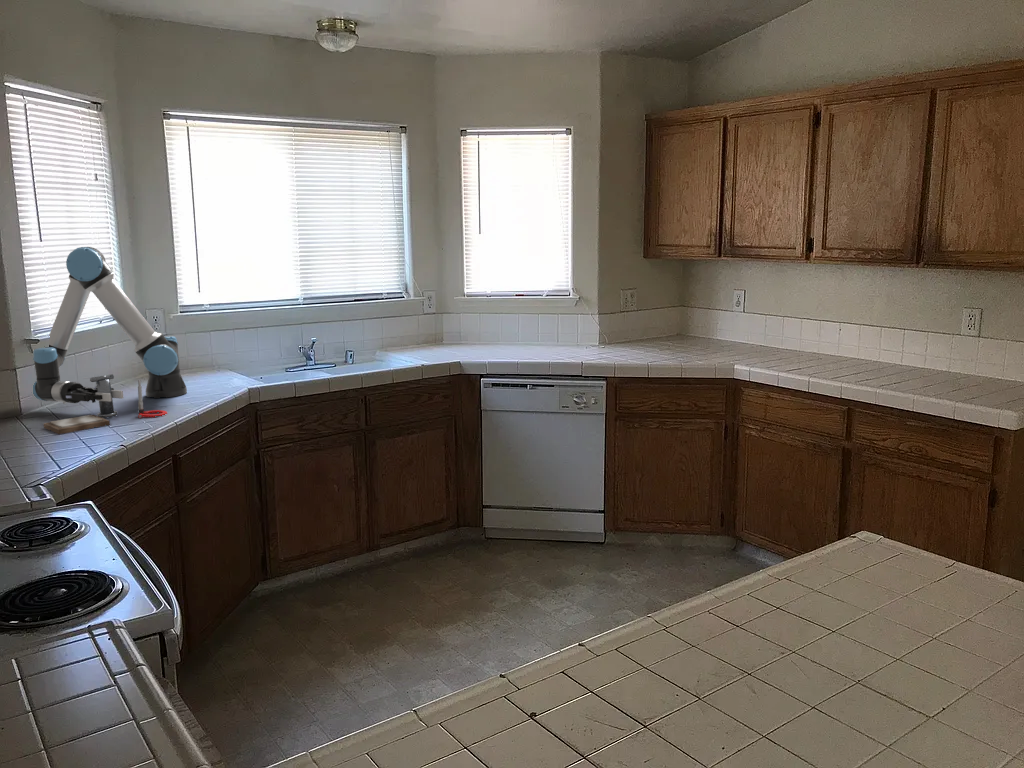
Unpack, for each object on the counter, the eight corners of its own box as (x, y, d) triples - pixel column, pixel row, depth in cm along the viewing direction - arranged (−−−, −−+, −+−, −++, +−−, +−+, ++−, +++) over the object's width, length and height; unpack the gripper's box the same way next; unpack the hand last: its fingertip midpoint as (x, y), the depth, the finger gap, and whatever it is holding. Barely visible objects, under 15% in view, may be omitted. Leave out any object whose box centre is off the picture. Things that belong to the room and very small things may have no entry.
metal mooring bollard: (113, 412, 298) (108, 373, 295) (121, 415, 294) (116, 375, 291) (91, 417, 292) (85, 376, 289) (99, 419, 288) (93, 378, 285)
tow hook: (168, 412, 298) (140, 414, 295) (166, 377, 296) (138, 378, 293) (166, 417, 290) (137, 419, 288) (164, 381, 288) (135, 382, 285)
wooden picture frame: (93, 418, 289) (93, 413, 288) (109, 424, 279) (109, 419, 279) (44, 427, 277) (43, 421, 277) (59, 434, 268) (58, 428, 268)
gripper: (90, 397, 307) (137, 401, 298) (48, 407, 292) (96, 411, 282) (88, 377, 306) (135, 381, 297) (45, 386, 290) (93, 390, 281)
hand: (116, 396), depth 290 cm, fingers closed on metal mooring bollard, 4 cm apart
